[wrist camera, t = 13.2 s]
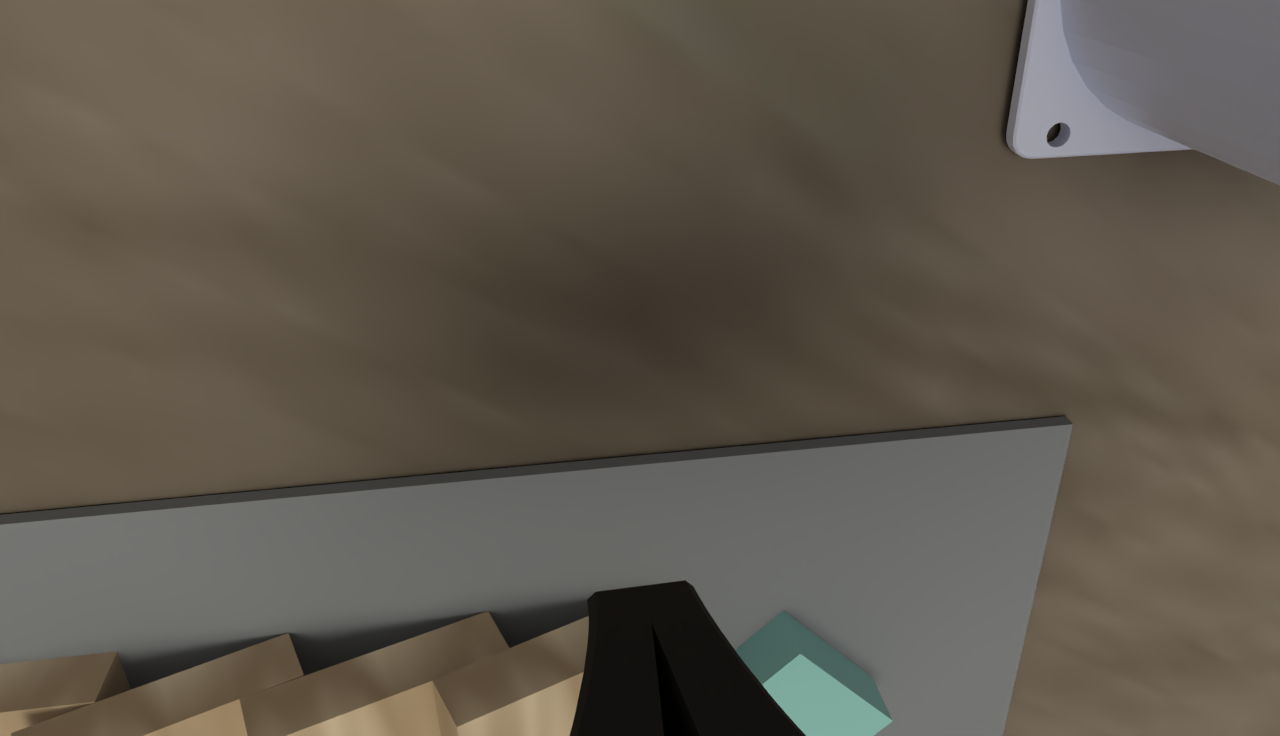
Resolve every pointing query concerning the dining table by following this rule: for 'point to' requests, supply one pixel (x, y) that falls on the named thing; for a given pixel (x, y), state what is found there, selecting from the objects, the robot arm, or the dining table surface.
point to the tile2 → (517, 688)
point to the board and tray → (580, 560)
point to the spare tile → (814, 681)
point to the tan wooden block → (374, 687)
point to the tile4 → (184, 698)
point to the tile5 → (56, 687)
